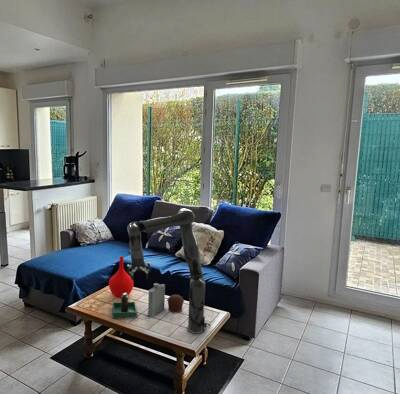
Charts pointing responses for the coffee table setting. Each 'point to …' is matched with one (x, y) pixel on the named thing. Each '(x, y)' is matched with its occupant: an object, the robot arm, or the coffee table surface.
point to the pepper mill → (124, 302)
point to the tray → (118, 314)
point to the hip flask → (156, 299)
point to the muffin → (175, 303)
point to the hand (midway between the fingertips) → (140, 278)
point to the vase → (120, 282)
